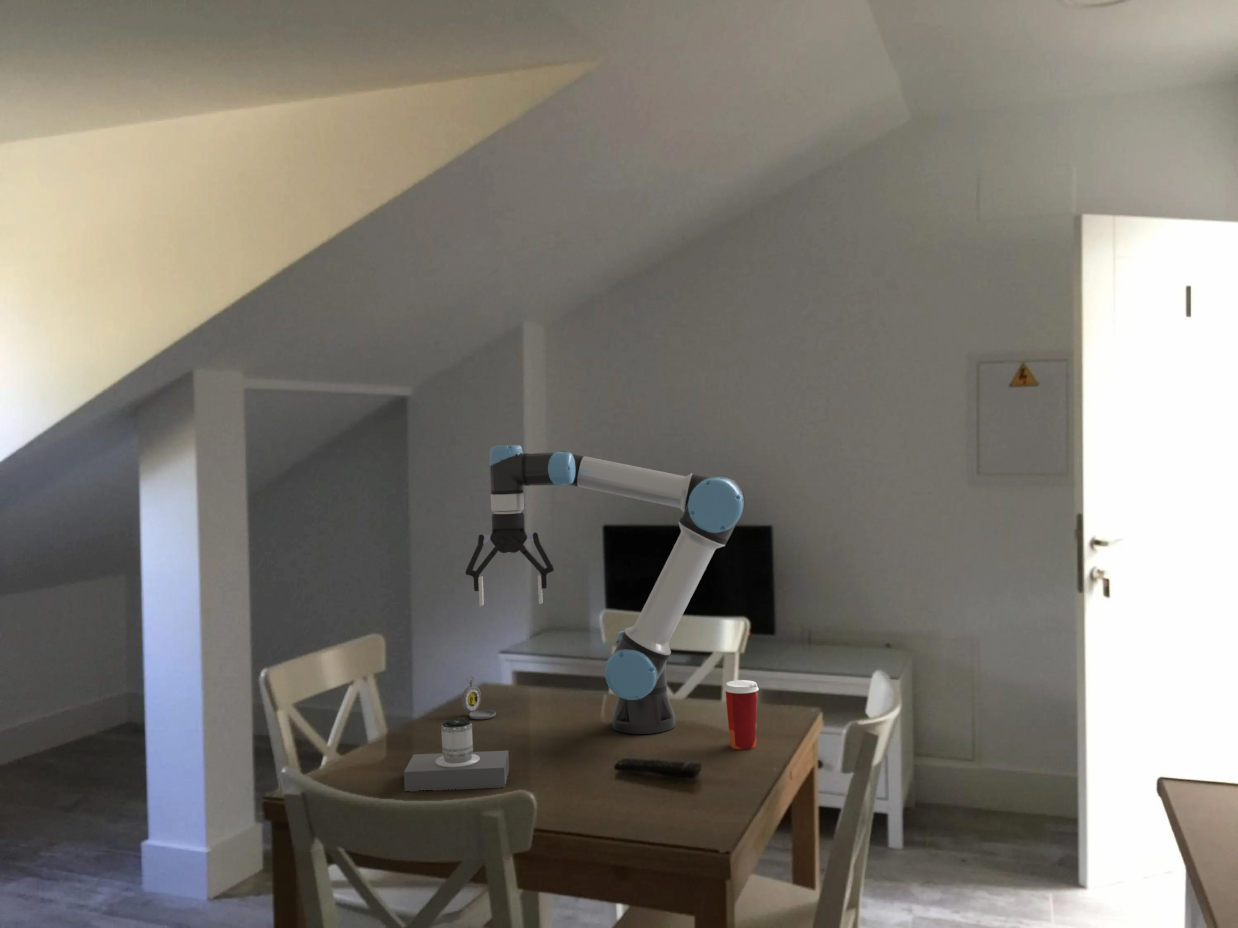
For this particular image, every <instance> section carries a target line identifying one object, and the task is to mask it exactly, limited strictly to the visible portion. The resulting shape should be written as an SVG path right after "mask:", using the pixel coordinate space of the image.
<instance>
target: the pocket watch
mask: <svg viewBox="0 0 1238 928" xmlns="http://www.w3.org/2000/svg"><path fill="white" fill-rule="evenodd" d="M469 678H472V679H470V680H469ZM466 681H467V683H468V684H469V686H467V687H466V688H465V689H464V691H463V693H462V695H461V705H462V706H461V707H462V709H463V710H464V711H465V712H467V713H469V715H468V716H469V718H471V719H472V720H473V719H474V720H488V719H492V718H493V717H494V718H495V716H496V714H497V713H496V711H494V710H489V709H483V710H482V709H480V710H478V709H479V707H480V705H481V701H482V693H481V690H480V688H479V687H478V686H476V685H473V684H474V681H475V678H474V676H472V675H471V676H468V677H467V678H466Z"/></svg>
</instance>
